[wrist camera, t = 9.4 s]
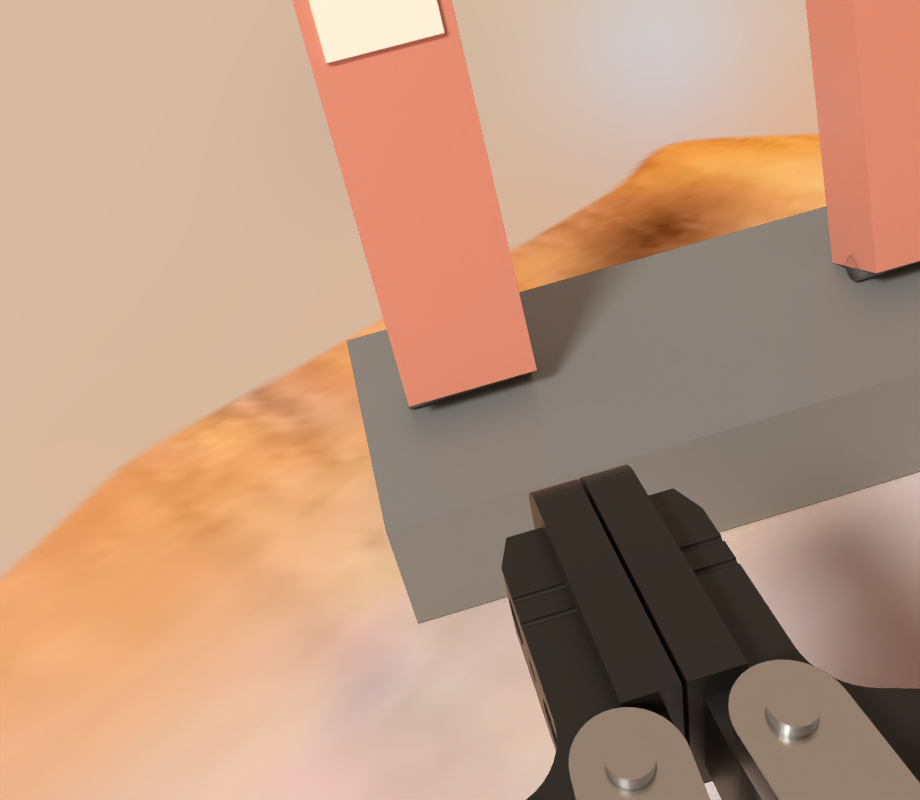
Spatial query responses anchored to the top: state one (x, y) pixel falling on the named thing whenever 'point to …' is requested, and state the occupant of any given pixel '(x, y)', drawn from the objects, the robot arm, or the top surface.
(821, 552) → the top surface
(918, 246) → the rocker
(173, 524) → the top surface
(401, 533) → the grey switch base
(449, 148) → the block
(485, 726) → the top surface
